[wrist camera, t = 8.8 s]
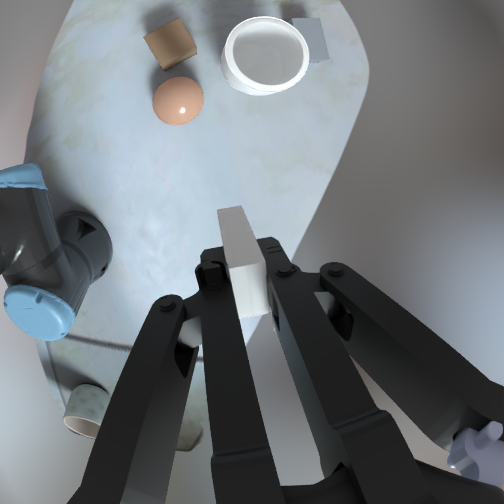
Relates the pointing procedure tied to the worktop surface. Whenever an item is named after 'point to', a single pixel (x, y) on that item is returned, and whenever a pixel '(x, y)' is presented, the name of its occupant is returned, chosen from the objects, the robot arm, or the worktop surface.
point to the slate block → (312, 37)
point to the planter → (86, 409)
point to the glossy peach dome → (178, 100)
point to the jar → (264, 56)
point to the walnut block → (171, 44)
